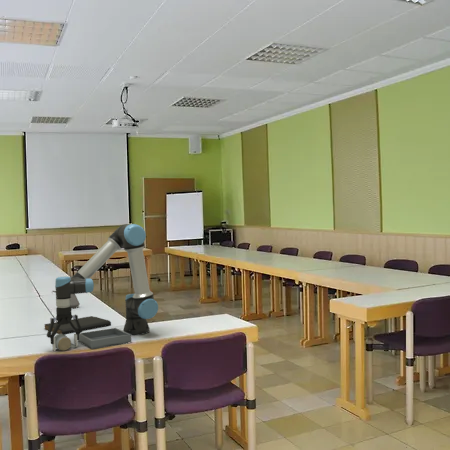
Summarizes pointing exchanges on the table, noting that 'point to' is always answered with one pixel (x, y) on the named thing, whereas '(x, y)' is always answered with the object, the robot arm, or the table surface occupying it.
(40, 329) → the table surface
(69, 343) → the ceramic mug
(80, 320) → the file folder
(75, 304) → the coffee pot
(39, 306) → the table surface
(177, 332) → the table surface
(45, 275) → the table surface
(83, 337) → the bin
